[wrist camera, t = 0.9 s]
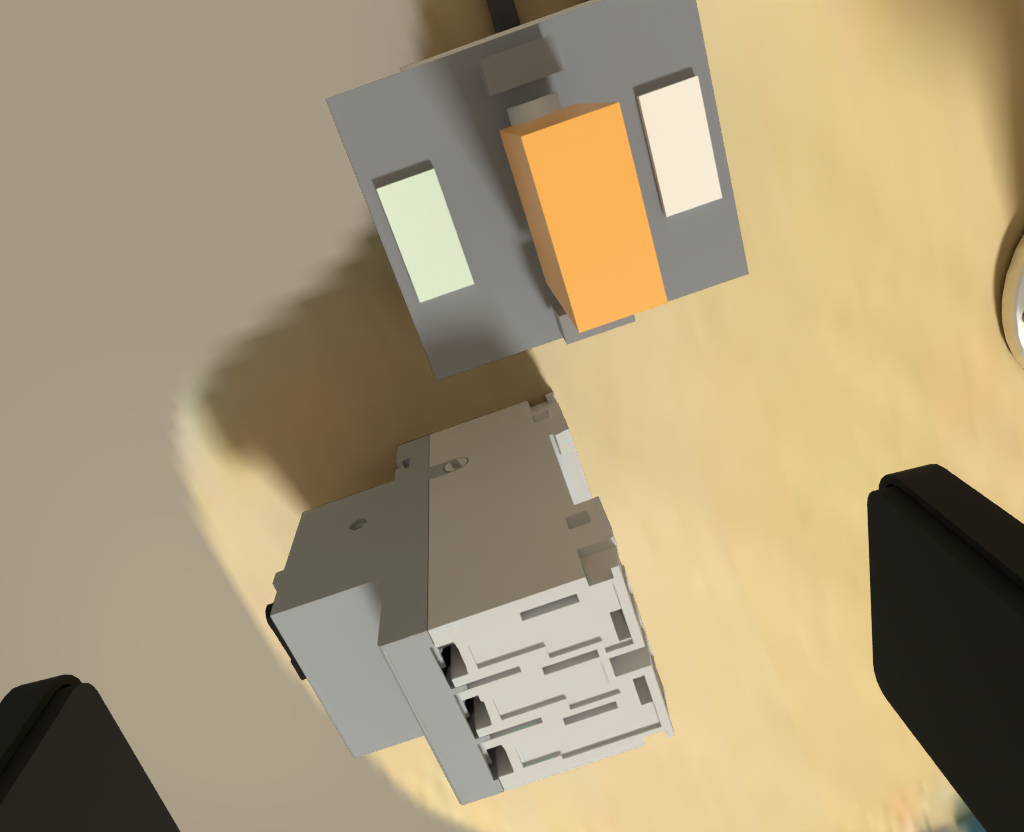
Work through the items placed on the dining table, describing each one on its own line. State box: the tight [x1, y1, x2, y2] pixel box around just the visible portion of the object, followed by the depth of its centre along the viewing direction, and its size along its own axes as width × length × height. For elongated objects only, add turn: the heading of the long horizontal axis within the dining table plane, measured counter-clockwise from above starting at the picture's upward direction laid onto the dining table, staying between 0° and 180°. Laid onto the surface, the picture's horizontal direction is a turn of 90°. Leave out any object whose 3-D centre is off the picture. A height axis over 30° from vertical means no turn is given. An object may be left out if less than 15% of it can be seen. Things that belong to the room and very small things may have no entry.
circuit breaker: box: [265, 392, 674, 805], centre depth 31 cm, size 8×14×15 cm, turn 109°
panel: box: [326, 0, 749, 381], centre depth 28 cm, size 12×10×10 cm
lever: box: [499, 91, 668, 333], centre depth 21 cm, size 2×6×7 cm, turn 18°
